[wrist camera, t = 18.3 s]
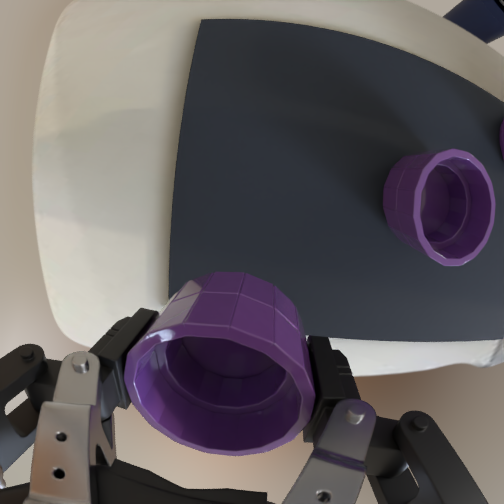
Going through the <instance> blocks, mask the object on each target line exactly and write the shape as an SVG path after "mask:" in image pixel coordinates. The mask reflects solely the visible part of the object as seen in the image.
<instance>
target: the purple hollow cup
mask: <svg viewBox="0 0 504 504" xmlns="http://www.w3.org/2000/svg"><path fill="white" fill-rule="evenodd" d="M495 203H496V202H495V196H494V191H493V185H492V182H491V180H490V178H489V176H488V174H487V172H486V170H485V168H484V166H483V165H482V164H481V163H480V162H479V161H478V160H477V159H476V158H475V157H474V156H473V155H472V154H470V153H469V152H466V151H462V150H458V149H454V148H451V149H441V150H431V151H423V152H416V153H413V154H410V155H407V156H404V157H402V158H401V159H400V160H399V161H398V162H397V163H396V164H395V165H394V166H393V167H392V168H391V170H390V172H389V175H388V177H387V180H386V182H385V185H384V190H383V209H384V213H385V216H386V220H387V223H388V226H389V227H390V229H391V230H392V231H393V233H394V234H395V235H396V237H397V238H398V239H399V240H400V241H402V242H404V243H406V244H407V245H409V246H411V247H413V248H414V249H416V250H418V251H420V252H421V253H423V254H425V255H426V256H428V257H430V258H431V259H433V260H435V261H436V262H438V263H440V264H441V265H443V266H461V265H463V264H464V263H466V262H468V261H470V260H472V259H474V258H475V257H476V256H477V255H478V253H479V252H480V251H481V250H482V248H483V247H484V246H485V245H486V243H487V241H488V238H489V236H490V233H491V230H492V228H493V224H494V217H495V206H496V204H495Z"/></svg>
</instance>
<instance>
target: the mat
mask: <svg viewBox="0 0 504 504" xmlns="http://www.w3.org/2000/svg"><path fill="white" fill-rule="evenodd" d="M503 120H504V103H503V102H502V101H500V100H499V99H497V98H496V97H494V96H493V95H491V94H490V93H488V92H487V91H485V90H483V89H482V88H480V87H478V86H477V85H475V84H473V83H471V82H470V81H468V80H466V79H464V78H462V77H460V76H459V75H457V74H455V73H453V72H451V71H449V70H447V69H445V68H443V67H441V66H438V65H436V64H434V63H432V62H430V61H427V60H425V59H423V58H420V57H418V56H416V55H413V54H410V53H408V52H405V51H403V50H400V49H397V48H394V47H391V46H389V45H386V44H382V43H379V42H376V41H373V40H369V39H366V38H362V37H359V36H355V35H351V34H347V33H343V32H339V31H334V30H329V29H324V28H319V27H313V26H307V25H301V24H294V23H286V22H277V21H265V20H249V19H204V20H201V24H200V28H199V32H198V36H197V40H196V45H195V49H194V54H193V59H192V64H191V69H190V74H189V79H188V85H187V91H186V96H185V103H184V109H183V115H182V122H181V129H180V137H179V144H178V153H177V161H176V171H175V181H174V192H173V204H172V218H171V235H170V258H169V300H170V298H171V297H172V296H173V295H174V294H175V293H176V292H177V291H178V290H179V289H180V288H181V287H182V286H183V285H184V284H185V283H186V282H188V281H190V280H193V279H196V278H198V277H201V276H204V275H206V274H209V273H214V272H244V273H247V274H250V275H252V276H255V277H257V278H259V279H262V280H264V281H267V282H269V283H272V284H273V285H274V286H276V287H277V288H278V289H279V290H280V291H281V292H282V293H283V294H284V295H285V296H286V297H287V298H288V299H289V300H291V301H292V302H293V303H294V305H295V307H296V308H297V311H298V313H299V316H300V318H301V321H302V324H303V326H304V330H305V335H313V336H323V337H331V338H344V339H359V340H378V341H408V342H452V341H480V340H497V339H503V338H504V159H503V156H502V153H501V148H500V140H499V134H500V127H501V124H502V122H503ZM451 148H454V149H458V150H462V151H466V152H469V153H470V154H472V155H473V156H474V157H475V158H476V159H477V160H478V161H479V162H480V163H481V164H482V165H483V166H484V168H485V170H486V172H487V174H488V176H489V178H490V180H491V182H492V185H493V191H494V196H495V202H496V203H495V204H496V206H495V217H494V224H493V228H492V230H491V233H490V236H489V238H488V241H487V243H486V245H485V246H484V247H483V248H482V250H481V251H480V252H479V253H478V255H477V256H476V257H475V258H474V259H472V260H470V261H468V262H466V263H464V264H463V265H461V266H443V265H441V264H440V263H438V262H436V261H435V260H433V259H431V258H430V257H428V256H426V255H425V254H423V253H421V252H420V251H418V250H416V249H414V248H413V247H411V246H409V245H407V244H406V243H404V242H402V241H400V240H399V239H398V238H397V237H396V235H395V234H394V233H393V231H392V230H391V229H390V227H389V226H388V223H387V220H386V216H385V213H384V209H383V190H384V185H385V182H386V180H387V177H388V175H389V172H390V170H391V168H392V167H393V166H394V165H395V164H396V163H397V162H398V161H399V160H400V159H401V158H402V157H404V156H407V155H410V154H413V153H416V152H423V151H431V150H441V149H451Z"/></svg>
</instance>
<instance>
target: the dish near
mask: <svg viewBox="0 0 504 504" xmlns="http://www.w3.org/2000/svg"><path fill="white" fill-rule="evenodd" d="M123 378H124V382H125V385H126V388H127V391H128V394H129V397H130V399H131V402H132V404H133V405H134V406H135V408H136V409H137V410H138V411H139V412H140V414H141V415H142V416H143V417H144V418H145V420H146V421H147V422H148V423H149V424H150V425H151V426H152V427H154V428H155V429H157V430H158V431H160V432H161V433H163V434H164V435H166V436H167V437H169V438H170V439H172V440H173V441H175V442H177V443H179V444H182V445H185V446H188V447H190V448H193V449H196V450H199V451H202V452H206V453H211V454H219V455H228V456H243V455H250V454H257V453H264V452H268V451H270V450H273V449H275V448H277V447H279V446H282V445H284V444H286V443H288V442H290V441H292V440H293V439H294V438H295V437H296V436H297V435H298V434H299V433H300V432H301V431H302V430H303V429H304V428H305V426H306V425H307V424H308V423H309V422H310V420H311V417H312V412H313V408H314V403H315V398H316V394H315V388H314V381H313V375H312V369H311V363H310V357H309V353H308V347H307V341H306V336H305V330H304V326H303V324H302V321H301V318H300V316H299V313H298V311H297V308H296V307H295V305H294V303H293V302H292V301H291V300H289V299H288V298H287V297H286V296H285V295H284V294H283V293H282V292H281V291H280V290H279V289H278V288H277V287H276V286H274V285H273V284H272V283H269V282H267V281H264V280H262V279H259V278H257V277H255V276H252V275H250V274H247V273H244V272H214V273H209V274H206V275H204V276H201V277H198V278H196V279H193V280H190V281H188V282H186V283H185V284H184V285H183V286H182V287H181V288H180V289H179V290H178V291H177V292H176V293H175V294H174V295H173V296H172V297H171V298H170V300H169V301H168V302H167V303H166V305H165V306H164V307H163V308H162V310H161V311H160V312H159V313H158V315H157V316H156V317H155V318H154V320H153V321H152V322H151V324H150V325H149V326H148V327H147V329H146V330H145V331H144V332H143V334H142V335H141V336H140V338H139V339H138V340H137V341H136V343H135V344H134V345H133V347H132V348H131V349H130V350H129V352H128V354H127V359H126V364H125V370H124V376H123Z"/></svg>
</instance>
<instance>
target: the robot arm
mask: <svg viewBox="0 0 504 504" xmlns="http://www.w3.org/2000/svg"><path fill="white" fill-rule="evenodd" d="M498 1H499V2H500V3H501V5H502V6H503V7H504V0H498ZM158 313H159V312H158V311H154V310H149V309H144V308H140V309H139V310H138V311H137V312H136V313H135V314H134V315H133V316H132V317H126V318H124V319H121V320H119V321H117V322H116V323H115V324H114V325H113V326H112V327H111V329H109V331H108V332H107V333H106V335H104V336H103V337H102V338H101V339H100V340H99V341H98V342H97V343H96V344H95V345H94V346H93V347H92V348H91V349H90V350H89V351H88V352H84V351H79V352H74V353H72V354H69V355H67V356H66V357H65V358H64V359H63V361H58V360H51V359H46V357H45V354H44V351H43V349H42V348H41V347H40V346H38V345H35V344H25V345H22V346H19V347H18V348H16V349H14V350H13V351H11V352H10V353H8V354H7V355H5V356H4V357H2V358H1V359H0V504H275V503H272V502H268V501H267V493H266V492H254V491H245V490H236V489H229V488H225V489H186V488H182V487H180V486H178V485H176V484H174V483H172V482H170V481H168V480H166V479H164V478H162V477H160V476H158V475H156V474H155V473H153V472H151V471H149V470H146V469H143V468H140V467H137V466H134V465H131V464H129V463H126V462H123V461H121V460H118V459H117V456H116V445H115V425H114V414H113V411H114V409H115V407H116V406H118V407H121V408H124V409H127V408H128V407H129V405H130V403H131V399H130V397H129V394H128V391H127V388H126V385H125V382H124V378H123V376H124V370H125V364H126V359H127V354H128V352H129V350H130V349H131V348H132V347H133V345H134V344H135V343H136V341H137V340H138V339H139V338H140V336H141V335H142V334H143V332H144V331H145V330H146V329H147V327H148V326H149V325H150V324H151V322H152V321H153V320H154V318H155V317H156V316H157V315H158ZM307 347H308V353H309V357H310V363H311V369H312V375H313V381H314V388H315V394H316V398H315V403H314V408H313V412H312V417H311V420H310V422H309V423H308V424H307V425H306V426H305V428H304V429H303V439H304V442H312V443H313V445H314V450H313V452H312V453H311V455H310V457H309V459H308V461H307V463H306V465H305V466H304V468H303V470H302V472H301V473H300V475H299V477H298V478H297V480H296V482H295V483H294V485H293V486H292V488H291V490H290V491H289V493H288V494H287V496H286V498H285V499H284V501H283V502H282V504H355V503H356V500H357V498H358V495H359V492H360V489H361V487H362V484H363V481H364V478H365V475H367V477H368V480H369V482H370V484H371V487H372V489H373V492H374V494H375V497H376V499H377V502H378V504H488V502H487V500H486V499H485V497H484V495H483V494H482V492H481V490H480V489H479V487H478V486H477V484H476V482H475V481H474V480H473V478H472V476H471V475H470V473H469V471H468V470H467V468H466V467H465V465H464V464H463V462H462V461H461V459H460V458H459V456H458V455H457V453H456V452H455V450H454V449H453V447H452V446H451V444H450V443H449V442H448V440H447V438H446V437H445V436H444V434H443V433H442V431H441V430H440V429H439V427H438V425H437V424H436V423H435V421H434V420H433V419H432V418H431V417H430V416H429V415H428V414H426V413H423V412H421V411H409V412H406V413H405V414H403V416H402V417H401V418H400V420H392V419H388V418H382V417H379V416H376V412H375V410H374V409H373V407H372V406H371V405H369V404H368V403H367V402H364V401H362V400H361V398H360V395H359V392H358V389H357V386H356V383H355V381H354V377H353V376H352V372H351V369H350V366H349V363H348V360H347V358H346V357H345V356H344V355H343V354H342V353H341V351H340V350H332V348H331V345H330V341H329V338H328V337H323V336H313V335H309V337H308V339H307ZM23 390H25V392H26V394H27V396H28V399H26V400H25V401H24V402H23V403H22V404H20V405H19V406H18V407H17V408H15V409H14V410H13V411H12V412H11V413H9V414H8V415H7V416H6V414H5V411H4V410H5V406H6V404H7V403H8V402H9V401H10V400H11V399H13V398H14V397H15V396H16V395H18V394H19V393H20V392H21V391H23ZM34 442H35V443H34ZM33 443H34V449H33V458H32V466H31V476H30V482H29V483H25V484H20V485H16V486H12V487H7V488H5V486H6V483H5V480H4V479H3V473H4V471H6V470H7V469H8V468H9V467H10V466H11V465H12V464H13V463H14V462H15V461H16V460H17V459H18V458H19V457H20V456H21V455H22V454H23V453H24V452H25V451H26V450H27V449H28V448H29V447H30V446H31V445H32V444H33ZM408 466H409V468H410V469H411V471H412V473H413V475H414V477H415V479H416V481H417V483H418V486H419V488H418V486H417V484H416V482H415V480H414V478H413V476H412V474H411V472H410V470H409V469H408Z"/></svg>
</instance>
